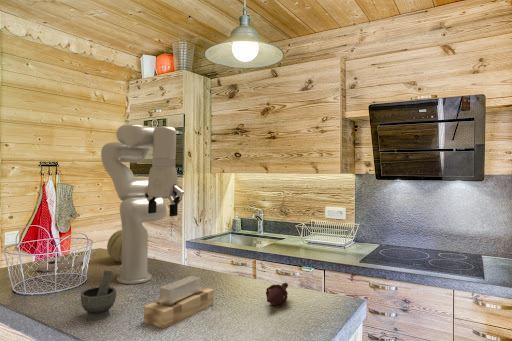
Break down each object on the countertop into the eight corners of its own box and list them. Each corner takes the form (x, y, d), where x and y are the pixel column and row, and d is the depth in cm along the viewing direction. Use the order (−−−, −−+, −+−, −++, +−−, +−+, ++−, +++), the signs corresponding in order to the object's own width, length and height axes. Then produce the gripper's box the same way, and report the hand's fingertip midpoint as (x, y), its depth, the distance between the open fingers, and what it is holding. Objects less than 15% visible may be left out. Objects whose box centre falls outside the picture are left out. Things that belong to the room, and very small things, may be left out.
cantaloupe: (116, 257, 178) (116, 225, 178) (145, 258, 177) (146, 226, 177) (100, 265, 163) (100, 231, 163) (132, 266, 162) (132, 232, 162)
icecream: (281, 294, 110) (298, 285, 124) (260, 284, 114) (278, 276, 127) (275, 316, 111) (292, 304, 124) (253, 306, 114) (272, 295, 127)
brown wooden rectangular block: (143, 322, 105) (143, 306, 104) (194, 298, 124) (194, 285, 124) (164, 328, 100) (164, 312, 100) (213, 303, 120) (213, 289, 119)
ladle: (98, 250, 168) (38, 259, 148) (98, 263, 168) (38, 274, 148) (91, 248, 171) (32, 257, 152) (91, 261, 171) (32, 272, 152)
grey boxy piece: (159, 315, 107) (159, 287, 107) (190, 300, 119) (191, 275, 119) (169, 318, 105) (170, 290, 105) (200, 303, 117) (201, 277, 117)
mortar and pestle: (103, 323, 103) (103, 280, 103) (72, 320, 105) (73, 278, 105) (124, 308, 114) (124, 269, 114) (96, 306, 116) (97, 267, 116)
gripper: (137, 162, 126) (135, 213, 126) (175, 164, 117) (174, 218, 118) (153, 163, 132) (152, 210, 133) (191, 164, 123) (189, 216, 124)
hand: (162, 214), depth 125 cm, fingers open, 9 cm apart
